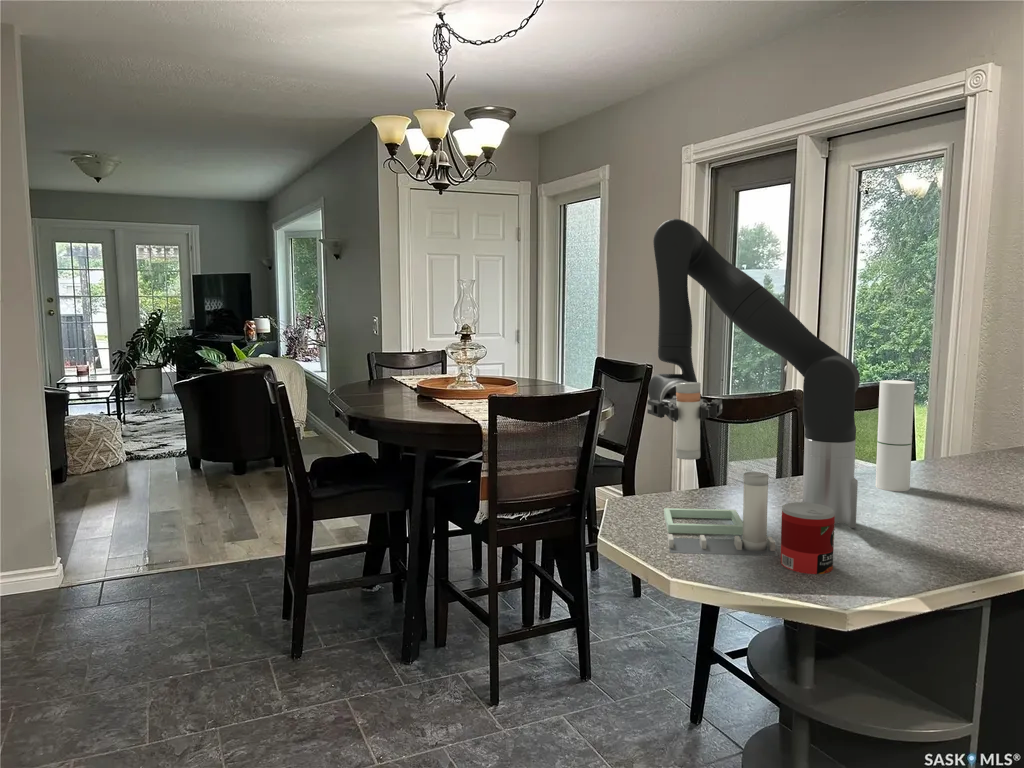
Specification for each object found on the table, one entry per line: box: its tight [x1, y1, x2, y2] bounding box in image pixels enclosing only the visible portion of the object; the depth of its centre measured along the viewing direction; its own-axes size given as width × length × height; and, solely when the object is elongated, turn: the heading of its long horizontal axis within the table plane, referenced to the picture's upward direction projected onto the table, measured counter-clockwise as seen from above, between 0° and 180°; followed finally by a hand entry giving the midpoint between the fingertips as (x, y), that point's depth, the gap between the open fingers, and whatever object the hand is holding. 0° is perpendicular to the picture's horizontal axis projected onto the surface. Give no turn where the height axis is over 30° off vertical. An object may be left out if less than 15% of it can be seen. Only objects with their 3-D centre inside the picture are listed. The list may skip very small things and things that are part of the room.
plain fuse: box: [741, 471, 770, 551], centre depth 127 cm, size 4×4×13 cm
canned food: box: [780, 501, 835, 575], centre depth 119 cm, size 8×8×11 cm
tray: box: [663, 507, 743, 536], centre depth 141 cm, size 14×11×3 cm
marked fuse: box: [675, 381, 702, 461], centre depth 127 cm, size 4×4×13 cm
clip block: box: [666, 533, 779, 557], centre depth 129 cm, size 18×8×3 cm, turn 82°
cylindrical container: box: [875, 379, 915, 492], centre depth 171 cm, size 7×7×25 cm
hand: (690, 414), depth 124 cm, fingers closed on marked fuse, 4 cm apart
